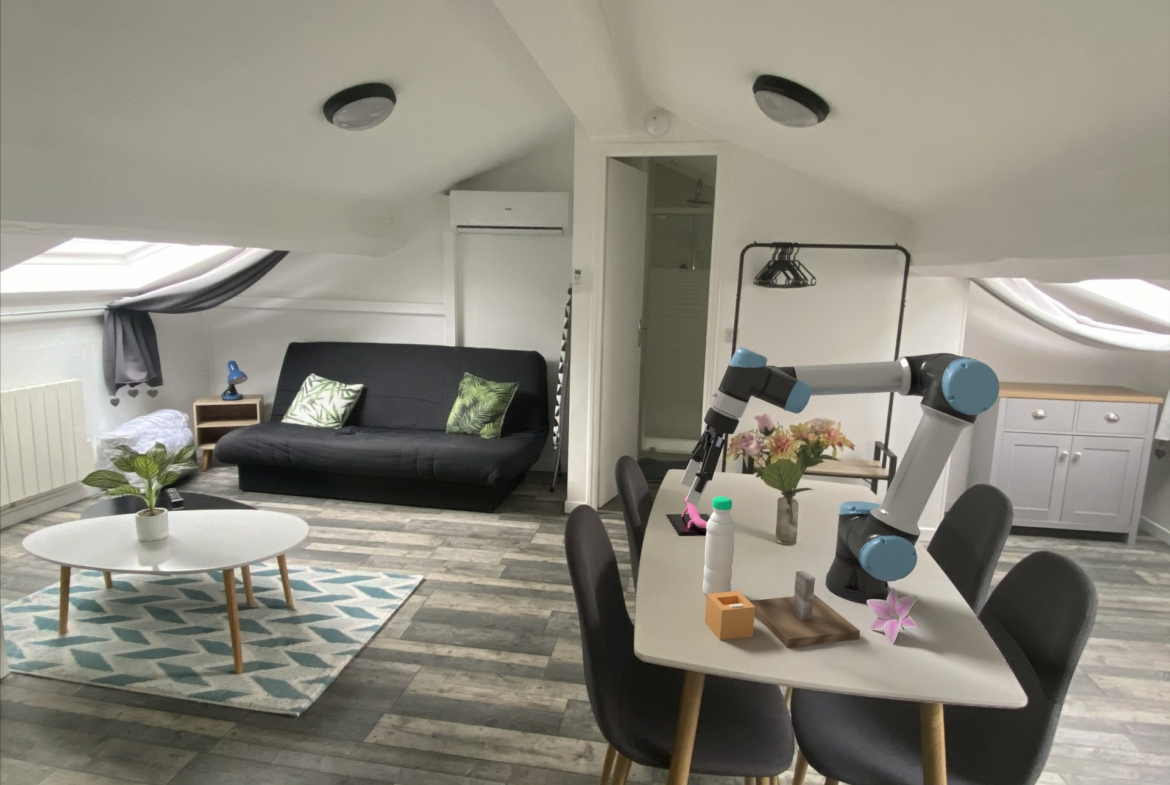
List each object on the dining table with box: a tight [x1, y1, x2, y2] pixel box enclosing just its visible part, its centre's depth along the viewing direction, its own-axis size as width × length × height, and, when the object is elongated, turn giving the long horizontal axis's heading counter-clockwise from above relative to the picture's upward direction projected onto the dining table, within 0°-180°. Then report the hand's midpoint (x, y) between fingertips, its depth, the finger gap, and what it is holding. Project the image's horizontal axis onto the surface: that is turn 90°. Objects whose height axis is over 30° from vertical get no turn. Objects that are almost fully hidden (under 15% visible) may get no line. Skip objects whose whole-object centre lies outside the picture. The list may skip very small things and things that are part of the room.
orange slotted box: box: [704, 590, 755, 641], centre depth 157 cm, size 8×8×7 cm
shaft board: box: [748, 570, 861, 648], centre depth 160 cm, size 18×18×12 cm
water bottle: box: [702, 496, 736, 596], centre depth 172 cm, size 7×7×25 cm
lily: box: [866, 587, 918, 645], centre depth 157 cm, size 12×12×10 cm
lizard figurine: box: [665, 495, 711, 537], centre depth 222 cm, size 15×20×7 cm
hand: (688, 493), depth 164 cm, fingers open, 13 cm apart
